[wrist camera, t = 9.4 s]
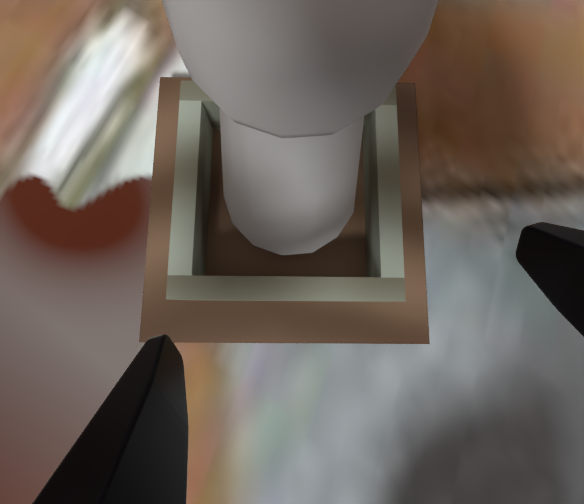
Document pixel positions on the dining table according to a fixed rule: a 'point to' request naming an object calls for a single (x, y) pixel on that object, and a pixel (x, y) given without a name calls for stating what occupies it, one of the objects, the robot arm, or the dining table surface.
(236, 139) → the salt shaker
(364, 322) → the stand
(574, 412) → the dining table surface
